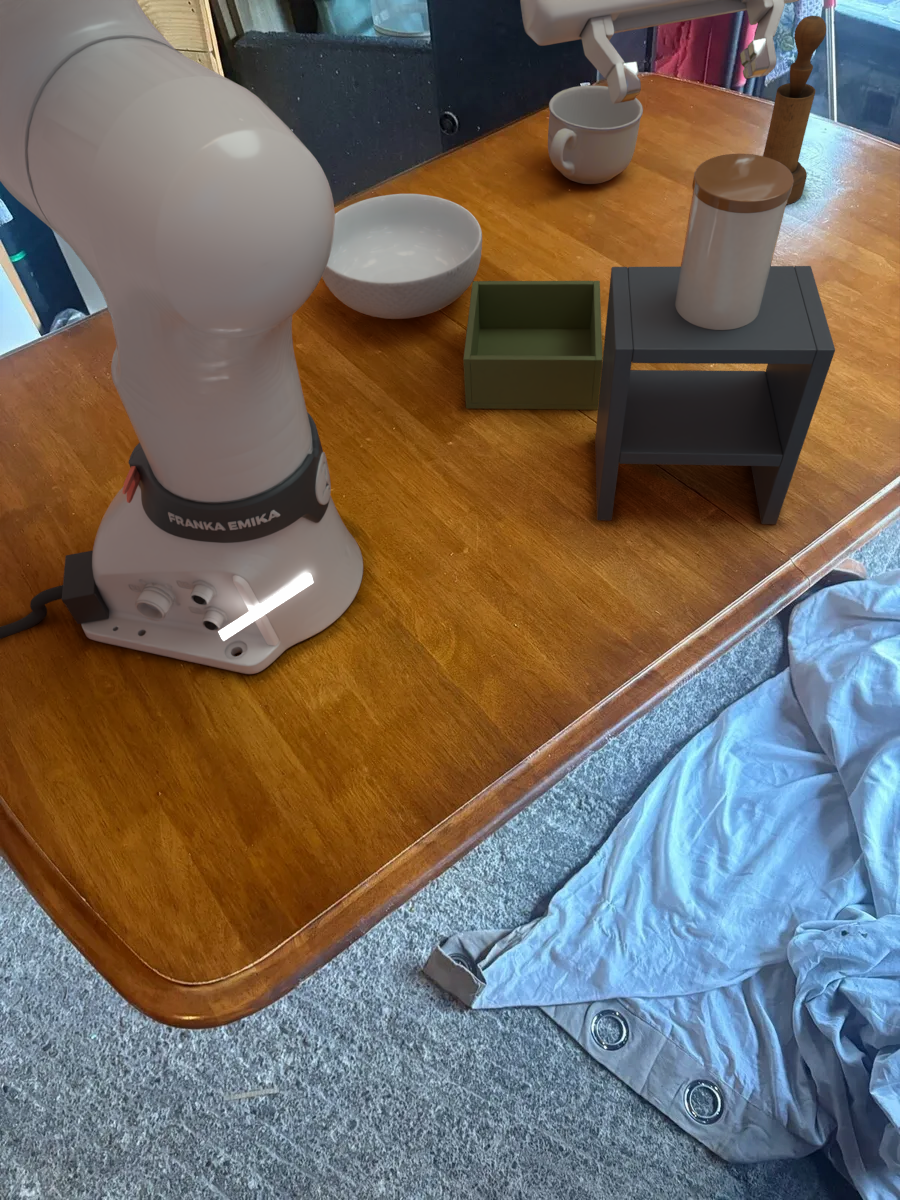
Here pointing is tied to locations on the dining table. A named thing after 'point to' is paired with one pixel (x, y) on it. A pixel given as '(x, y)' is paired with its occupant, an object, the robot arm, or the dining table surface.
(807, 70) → the mortar and pestle
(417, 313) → the cereal bowl
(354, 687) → the dining table surface
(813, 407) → the shelf
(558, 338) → the bin
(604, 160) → the teacup
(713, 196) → the jar
